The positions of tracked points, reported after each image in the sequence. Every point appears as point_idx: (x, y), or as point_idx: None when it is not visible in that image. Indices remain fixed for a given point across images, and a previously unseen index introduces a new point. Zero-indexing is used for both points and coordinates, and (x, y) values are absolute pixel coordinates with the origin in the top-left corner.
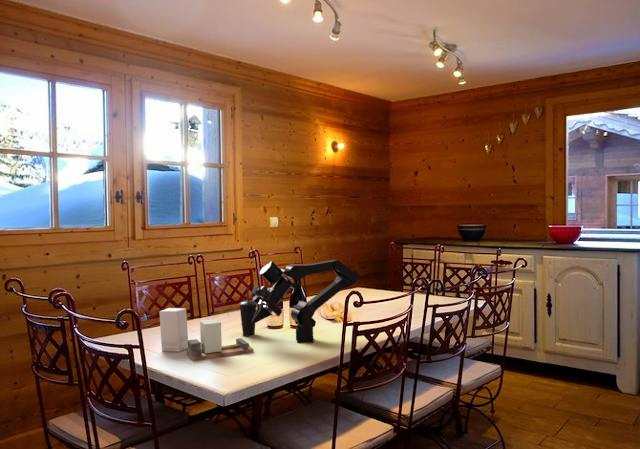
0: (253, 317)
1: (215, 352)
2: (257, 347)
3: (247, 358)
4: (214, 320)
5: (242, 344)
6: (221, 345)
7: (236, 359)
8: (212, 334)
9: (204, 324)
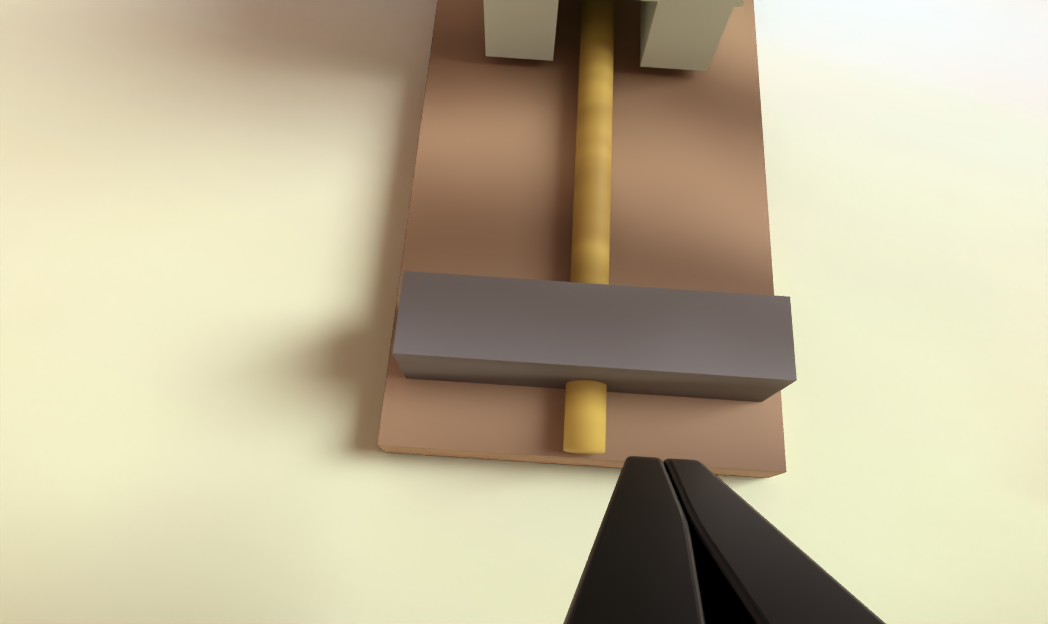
0: (760, 540)
1: None
2: None
3: (171, 275)
4: None
5: (446, 279)
6: (485, 3)
7: (228, 162)
8: None
9: None
